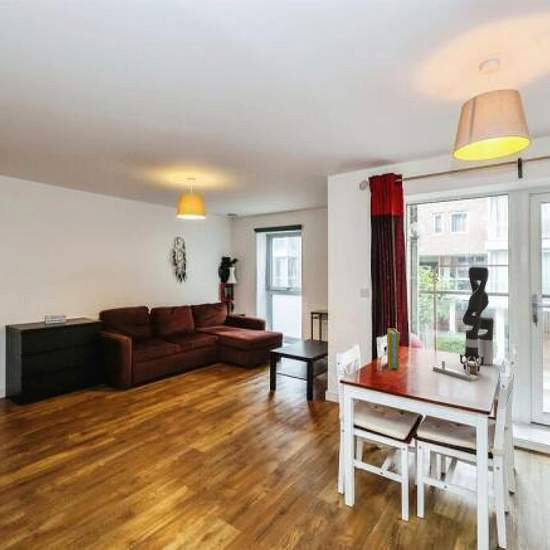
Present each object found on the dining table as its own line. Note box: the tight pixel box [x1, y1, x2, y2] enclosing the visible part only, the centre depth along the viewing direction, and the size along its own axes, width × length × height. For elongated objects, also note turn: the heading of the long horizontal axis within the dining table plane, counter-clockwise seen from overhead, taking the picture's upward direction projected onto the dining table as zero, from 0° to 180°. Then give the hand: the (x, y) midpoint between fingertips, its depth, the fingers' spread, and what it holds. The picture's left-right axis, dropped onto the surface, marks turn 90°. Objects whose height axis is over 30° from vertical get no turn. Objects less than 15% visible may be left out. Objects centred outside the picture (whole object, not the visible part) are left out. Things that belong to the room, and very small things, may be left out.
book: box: [386, 327, 401, 371], centre depth 243 cm, size 17×7×25 cm, turn 168°
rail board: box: [432, 360, 479, 382], centre depth 224 cm, size 8×26×6 cm, turn 29°
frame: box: [466, 361, 478, 376], centre depth 227 cm, size 12×5×6 cm, turn 154°
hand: (471, 370), depth 227 cm, fingers open, 6 cm apart
